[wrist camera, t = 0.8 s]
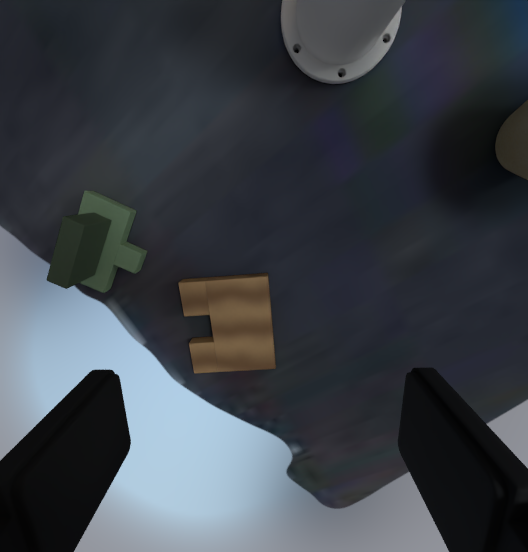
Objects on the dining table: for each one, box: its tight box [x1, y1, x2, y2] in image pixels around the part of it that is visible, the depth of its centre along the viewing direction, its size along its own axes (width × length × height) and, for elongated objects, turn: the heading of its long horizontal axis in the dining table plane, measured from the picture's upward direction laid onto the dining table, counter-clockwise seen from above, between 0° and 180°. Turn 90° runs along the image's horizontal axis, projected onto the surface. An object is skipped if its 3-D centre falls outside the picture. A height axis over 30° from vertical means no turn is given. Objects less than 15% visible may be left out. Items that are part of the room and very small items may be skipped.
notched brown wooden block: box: [178, 273, 276, 373], centre depth 42 cm, size 14×12×2 cm
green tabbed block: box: [47, 191, 147, 293], centre depth 36 cm, size 12×9×8 cm
